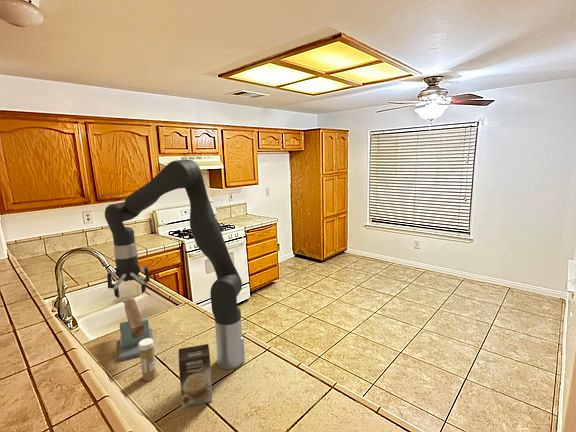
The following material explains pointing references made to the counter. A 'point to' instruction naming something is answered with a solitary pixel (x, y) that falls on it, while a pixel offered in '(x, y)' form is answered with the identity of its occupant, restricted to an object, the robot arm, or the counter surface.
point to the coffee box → (195, 375)
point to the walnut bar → (134, 318)
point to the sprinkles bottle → (147, 359)
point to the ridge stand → (132, 340)
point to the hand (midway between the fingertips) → (130, 294)
